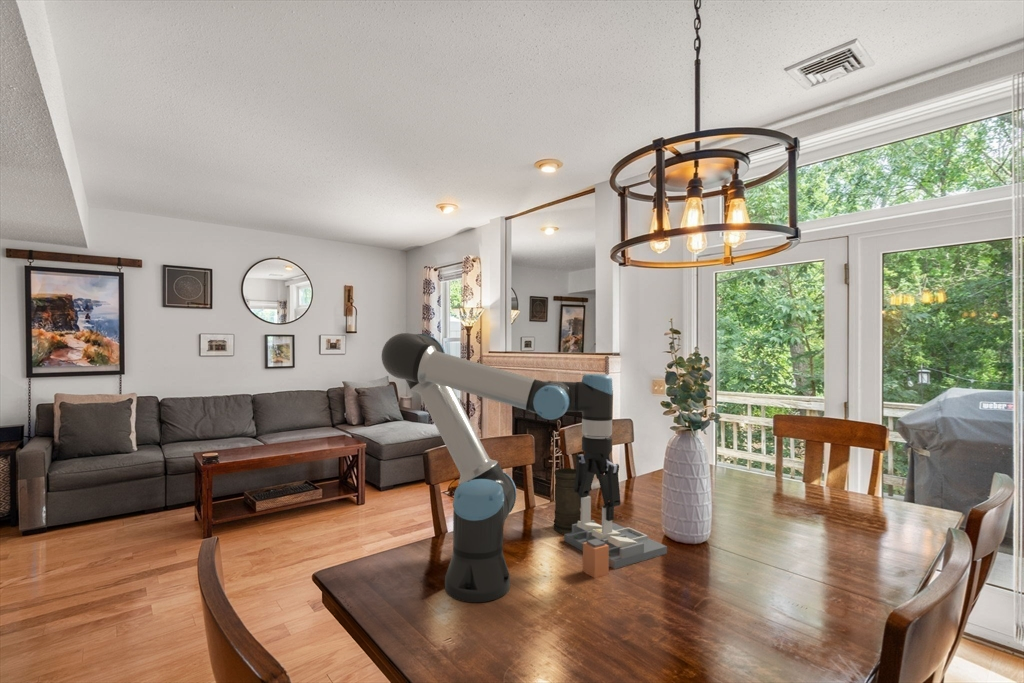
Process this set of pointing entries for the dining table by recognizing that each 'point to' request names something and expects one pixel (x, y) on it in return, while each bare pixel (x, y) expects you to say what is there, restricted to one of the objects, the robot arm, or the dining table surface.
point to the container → (566, 501)
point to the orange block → (595, 558)
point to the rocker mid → (599, 535)
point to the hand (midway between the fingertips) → (596, 527)
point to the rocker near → (621, 541)
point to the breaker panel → (620, 554)
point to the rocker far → (588, 526)
